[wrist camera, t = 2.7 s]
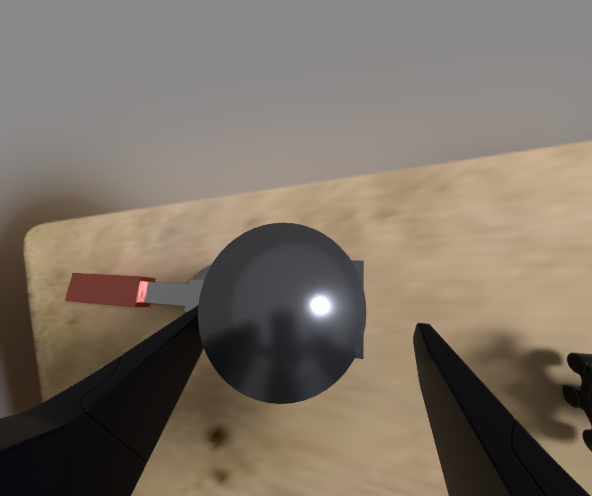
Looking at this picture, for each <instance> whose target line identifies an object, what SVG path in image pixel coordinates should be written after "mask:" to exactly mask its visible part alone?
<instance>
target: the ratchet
mask: <svg viewBox="0 0 592 496" xmlns="http://www.w3.org/2000/svg"><path fill="white" fill-rule="evenodd" d="M210 267H211V265H210V266H208V267H206V268H204V269H203V270H202V271H201V272H200V273H199V274H198V275H197V276H196V277H195V279H194V280H189V284H177V283H160V282H155V280H156V278H148V277H139V276H120V275H101V274H82V273H73V274H72V278H71V281H70V285H69V288H68V292H67V295H66V299H65V301H74V302H85V303H97V304H108V305H119V306H131V307H150V305H151V303H156V304H168V305H181V306H185V308H184V311H185V312H188V311H190V310H191V309H193V308H194V307H196V306H197V305H199V298H200V293H201V289H202V286H203V282H204V279H205V277H206V275H207V273H208V271H209V269H210Z"/></svg>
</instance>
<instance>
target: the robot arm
mask: <svg viewBox="0 0 592 496" xmlns="http://www.w3.org/2000/svg"><path fill="white" fill-rule="evenodd" d="M198 306H199V305H197V306H196V307H194V308H193V309H191V310H190V311H188V312H187V313H185V314H184V315H182V316H181V317H179V318H177V319H176V320H174V321H173V322H171V323H170V324H168V325H167V326H165V327H164V328H162V329H161V330H159V331H158V332H156V333H155V334H153V335H152V336H150V337H149V338H147V339H146V340H144V341H142V342H141V343H139V344H138V345H136V346H135V347H133V348H132V349H130V350H129V351H127V352H126V353H124V354H123V355H122V356H120V357H118V358H117V359H115V360H114V361H112V362H110V363H109V364H107V365H106V366H104V367H103V368H101V369H99V370H98V371H96V372H95V373H93V374H91V375H90V376H88V377H86V378H85V379H83V380H81V381H80V382H78V383H76V384H75V385H73V386H71V387H69V388H68V389H66V390H64V391H63V392H61V393H59V394H57V395H56V396H54V397H52V398H51V399H49V400H47V401H46V402H44V403H42V404H40V405H38V406H36V407H34V408H33V409H30V410H27V411H25V412H22V413H19V414H16V415H12V416H9V417H5V418H1V419H0V496H131V494H132V492H133V490H134V488H135V486H136V484H137V482H138V480H139V478H140V476H141V474H142V472H143V470H144V468H145V466H146V464H147V463H146V462H148V460H149V458H150V456H151V454H152V452H153V450H154V448H155V446H156V444H157V442H158V440H159V438H160V436H161V434H162V432H163V430H164V428H165V425H166V423H167V421H168V419H169V417H170V415H171V413H172V411H173V409H174V407H175V405H176V403H177V401H178V399H179V397H180V395H181V393H182V391H183V389H184V387H185V385H186V383H187V381H188V379H189V377H190V375H191V373H192V371H193V369H194V367H195V365H196V363H197V361H198V359H199V357H200V355H201V353H202V350H203V348H204V346H203V344H202V340H201V336H200V332H199V324H198ZM413 343H414V350H415V357H416V364H417V371H418V377H419V383H420V387H421V391H422V395H423V399H424V403H425V407H426V410H427V414H428V418H429V422H430V426H431V429H432V433H433V437H434V441H435V445H436V448H437V452H438V456H439V460H440V464H441V467H442V471H443V475H444V479H445V483H446V486H447V490H448V494H449V496H590V495H589V494H588V493H587V492H586V491H585V490H584V489H583V488H582V487H581V486H580V485H579V484H578V483H577V482H576V481H575V480H574V479H573V478H572V477H571V476H570V475H569V474H568V473H567V472H566V471H565V470H564V469H563V468H562V467H561V466H560V465H559V464H558V463H557V462H556V461H555V460H554V459H553V458H552V457H551V456H550V455H549V454H548V453H547V452H546V451H545V450H544V449H543V448H542V447H541V446H540V445H539V443H538V442H537V441H536V440H535V439H534V438H533V437H532V436H531V435H530V434H529V433H528V432H527V431H526V430H525V428H524V427H523V426H522V425H521V424H520V423H519V422H518V421H517V420H516V419H514V417H513V415H512V414H511V413H510V412H509V411H508V410H507V409H506V408H505V407H504V406H503V404H502V403H501V402H500V401H499V400H498V399H497V398H496V397H495V396H494V394H493V393H492V392H491V391H490V390H489V389H488V388H487V387H486V386H485V385H484V383H483V382H482V381H481V380H480V379H479V378H478V377H477V376H476V375H475V374H474V372H473V371H472V370H471V369H470V368H469V367H468V366H467V365H466V364H465V363H464V361H463V360H462V359H461V358H460V357H459V356H458V355H457V354H456V353H455V352H454V350H453V349H452V348H451V347H450V346H449V345H448V344H447V343H446V342H445V341H444V339H443V338H442V337H441V336H440V335H439V334H438V333H437V332H436V331H435V330H434V328H433V327H432V326H431V325H429V324H426V323H417V325H416V328H415V332H414V336H413Z"/></svg>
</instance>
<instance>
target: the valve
mask: <svg viewBox="0 0 592 496" xmlns="http://www.w3.org/2000/svg"><path fill="white" fill-rule="evenodd" d="M567 362H568V365H569V367H570V368H571V369H572V370H573V371H574V372H575V373H577V374H579V375H580V377H581V379H582V384H581V386H572V385H565V386H563V388H562V390H563V395H564V398H565V400H566V401H567V402H568V403H569V404H570V405H571V406H573V407H575V408H581V409H583V410H584V411H585V413H586V415H587V417H588V419H589V421H590V423H591V426H592V354H584V353H570V354H568V356H567ZM583 440H584V442H585V444H586V446H587V447H588V448H589V449H590V451H591V452H592V429H590V430H588V429H586V430H584V431H583Z"/></svg>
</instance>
